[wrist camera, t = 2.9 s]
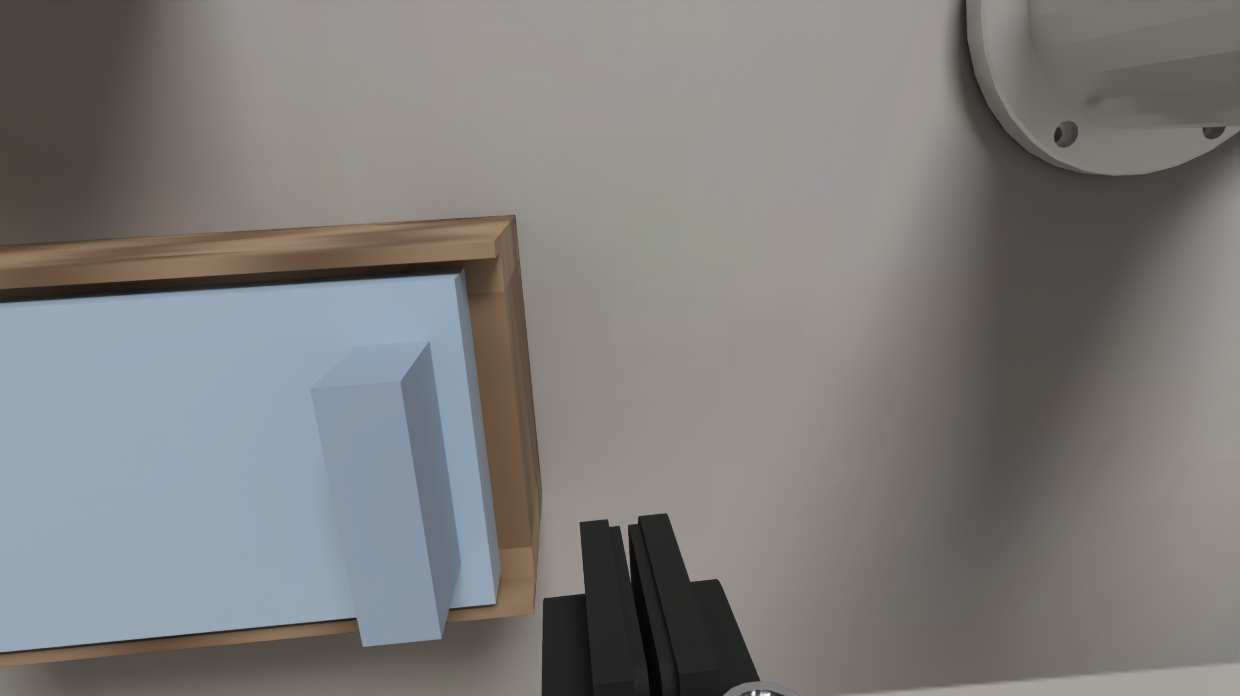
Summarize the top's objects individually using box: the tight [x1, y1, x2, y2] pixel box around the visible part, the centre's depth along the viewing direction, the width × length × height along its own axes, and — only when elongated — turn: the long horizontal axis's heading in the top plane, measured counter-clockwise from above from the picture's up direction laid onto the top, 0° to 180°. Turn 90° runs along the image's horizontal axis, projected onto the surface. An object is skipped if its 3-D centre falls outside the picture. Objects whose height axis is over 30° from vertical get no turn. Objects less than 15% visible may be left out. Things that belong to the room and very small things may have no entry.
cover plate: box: [0, 268, 501, 652], centre depth 16 cm, size 18×9×5 cm, turn 93°
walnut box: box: [0, 215, 542, 667], centre depth 20 cm, size 20×11×7 cm, turn 93°
